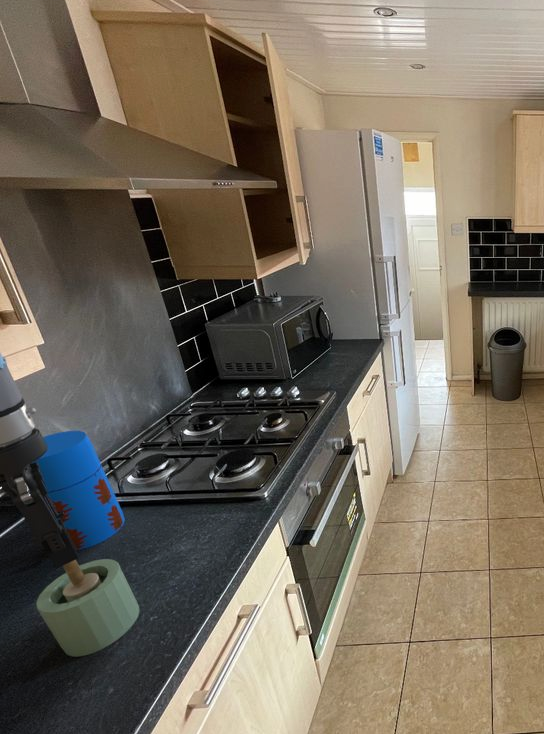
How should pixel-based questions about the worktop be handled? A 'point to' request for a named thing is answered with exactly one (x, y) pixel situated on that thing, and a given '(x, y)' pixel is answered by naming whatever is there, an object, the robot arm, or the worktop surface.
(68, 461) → the thermos
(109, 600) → the green faceted pot
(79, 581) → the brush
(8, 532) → the worktop surface
